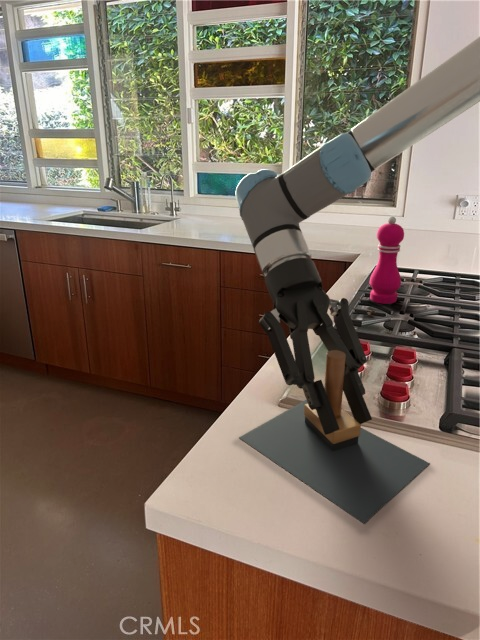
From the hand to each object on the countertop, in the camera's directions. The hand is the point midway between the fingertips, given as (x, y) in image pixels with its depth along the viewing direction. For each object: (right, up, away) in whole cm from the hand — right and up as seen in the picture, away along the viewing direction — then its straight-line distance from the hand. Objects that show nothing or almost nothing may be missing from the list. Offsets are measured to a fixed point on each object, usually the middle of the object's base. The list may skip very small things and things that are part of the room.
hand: (348, 426), depth 59 cm
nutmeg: (+16, +15, +45) cm, 50 cm away
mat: (-2, -4, +1) cm, 4 cm away
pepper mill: (+21, +18, +53) cm, 60 cm away
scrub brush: (-1, -2, +4) cm, 5 cm away
